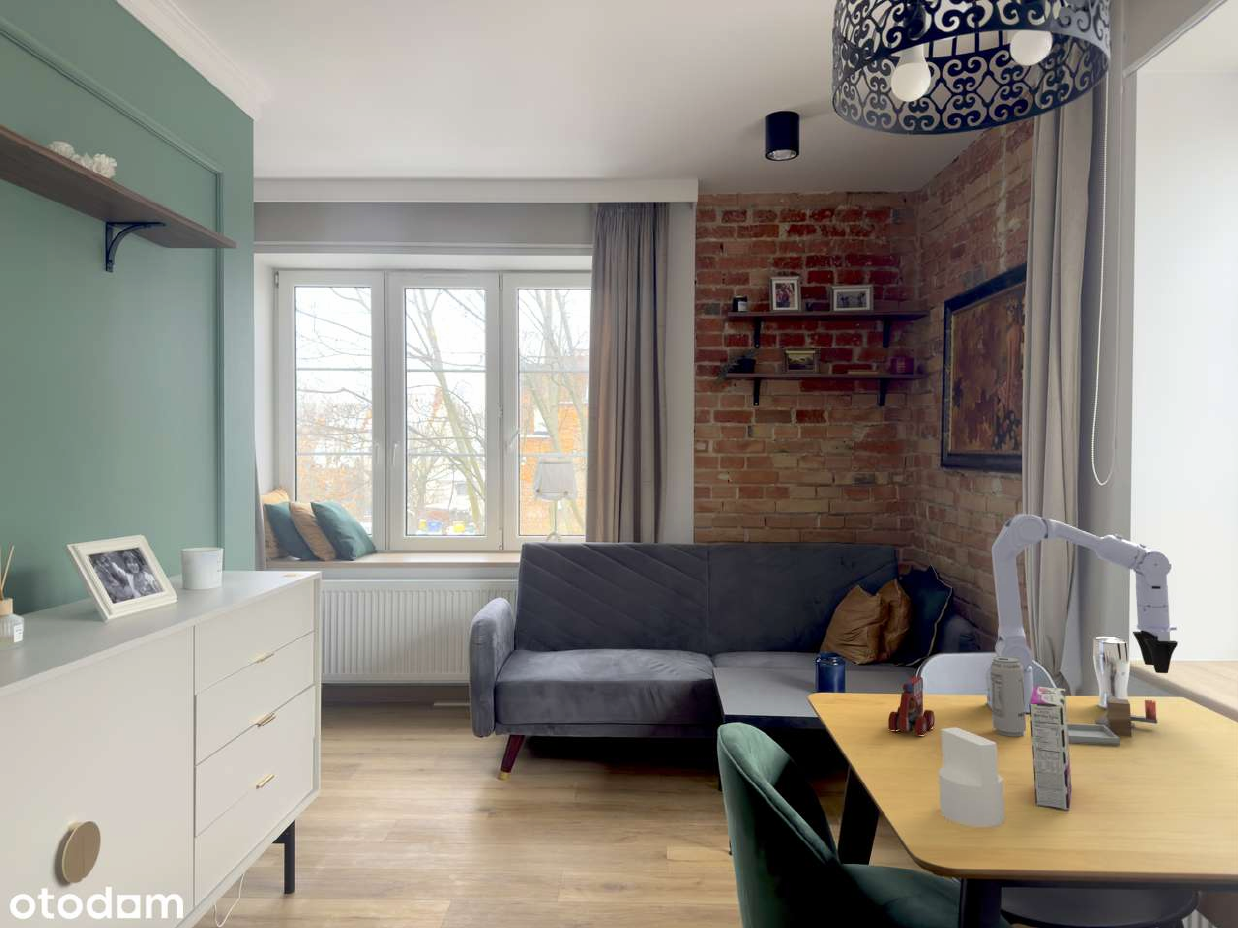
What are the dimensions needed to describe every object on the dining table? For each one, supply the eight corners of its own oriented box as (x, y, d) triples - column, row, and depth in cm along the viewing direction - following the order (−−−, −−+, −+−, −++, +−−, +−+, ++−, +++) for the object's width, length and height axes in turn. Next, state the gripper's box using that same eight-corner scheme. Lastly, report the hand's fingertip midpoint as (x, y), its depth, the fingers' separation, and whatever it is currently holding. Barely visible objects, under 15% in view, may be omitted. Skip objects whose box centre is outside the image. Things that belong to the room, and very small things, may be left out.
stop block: (1131, 736, 153) (1129, 703, 153) (1110, 734, 154) (1108, 702, 155) (1128, 731, 156) (1127, 699, 156) (1108, 729, 158) (1106, 697, 158)
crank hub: (1101, 727, 159) (1101, 723, 159) (1091, 718, 166) (1090, 714, 166) (1140, 729, 157) (1140, 725, 157) (1128, 719, 164) (1127, 715, 164)
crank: (1105, 718, 161) (1104, 697, 161) (1106, 714, 164) (1105, 694, 164) (1157, 724, 156) (1155, 703, 156) (1157, 720, 158) (1156, 699, 159)
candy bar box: (1037, 782, 131) (1033, 685, 132) (1072, 787, 128) (1066, 688, 129) (1033, 805, 122) (1027, 700, 122) (1069, 812, 119) (1064, 704, 120)
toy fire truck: (885, 735, 158) (882, 684, 159) (904, 720, 168) (902, 672, 168) (919, 741, 154) (917, 689, 154) (937, 726, 164) (935, 676, 164)
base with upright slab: (1018, 821, 116) (1014, 741, 117) (968, 830, 113) (964, 748, 114) (974, 799, 125) (971, 724, 125) (928, 807, 122) (924, 731, 123)
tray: (1069, 742, 150) (1069, 735, 150) (1057, 729, 159) (1057, 722, 159) (1119, 745, 148) (1119, 738, 148) (1104, 731, 156) (1104, 724, 156)
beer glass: (1088, 705, 175) (1085, 638, 176) (1108, 701, 178) (1104, 635, 179) (1119, 712, 169) (1115, 643, 170) (1139, 708, 172) (1135, 640, 173)
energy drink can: (1028, 738, 154) (1025, 662, 154) (995, 736, 156) (992, 661, 156) (1023, 729, 160) (1019, 656, 160) (991, 727, 161) (988, 655, 162)
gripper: (1185, 610, 159) (1189, 677, 158) (1164, 601, 173) (1167, 662, 172) (1145, 610, 161) (1149, 675, 161) (1127, 600, 175) (1130, 660, 174)
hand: (1156, 668), depth 167 cm, fingers open, 7 cm apart
